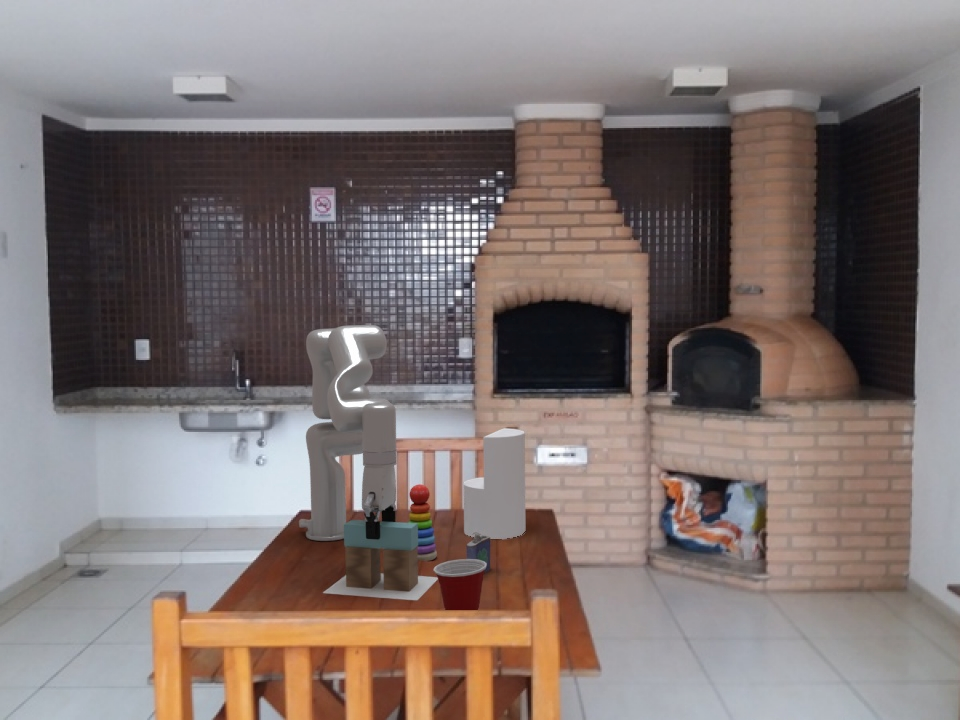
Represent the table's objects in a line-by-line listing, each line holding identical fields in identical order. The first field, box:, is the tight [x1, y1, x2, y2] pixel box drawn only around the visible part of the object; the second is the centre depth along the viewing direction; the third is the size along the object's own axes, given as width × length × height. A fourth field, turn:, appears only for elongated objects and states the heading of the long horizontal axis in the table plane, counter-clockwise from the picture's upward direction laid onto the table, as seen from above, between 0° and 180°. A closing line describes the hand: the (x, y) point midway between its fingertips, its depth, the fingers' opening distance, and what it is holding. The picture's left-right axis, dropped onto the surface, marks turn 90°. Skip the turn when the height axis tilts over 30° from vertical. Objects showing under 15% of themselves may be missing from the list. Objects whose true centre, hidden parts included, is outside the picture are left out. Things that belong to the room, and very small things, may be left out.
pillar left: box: [344, 546, 382, 589], centre depth 202 cm, size 6×6×9 cm
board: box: [322, 572, 439, 601], centre depth 202 cm, size 22×16×1 cm
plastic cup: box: [433, 558, 487, 611], centre depth 180 cm, size 11×11×12 cm
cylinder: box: [463, 427, 527, 540], centre depth 249 cm, size 17×17×28 cm
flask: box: [466, 532, 491, 574], centre depth 209 cm, size 9×3×11 cm, turn 151°
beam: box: [343, 519, 418, 551], centre depth 201 cm, size 16×4×5 cm, turn 75°
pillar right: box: [382, 547, 419, 592], centre depth 200 cm, size 6×6×9 cm
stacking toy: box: [408, 483, 438, 562], centre depth 225 cm, size 8×8×19 cm
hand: (381, 533), depth 201 cm, fingers open, 9 cm apart
